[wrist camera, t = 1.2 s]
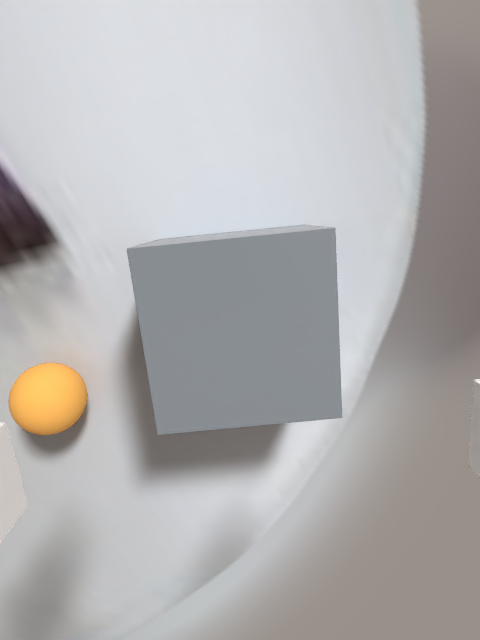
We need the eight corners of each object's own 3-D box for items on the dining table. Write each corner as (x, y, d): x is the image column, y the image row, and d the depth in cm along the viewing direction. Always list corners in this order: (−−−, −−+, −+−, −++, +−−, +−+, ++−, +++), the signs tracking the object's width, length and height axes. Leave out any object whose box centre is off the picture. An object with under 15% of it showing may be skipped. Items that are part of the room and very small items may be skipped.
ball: (24, 356, 30) (-16, 383, 25) (90, 350, 30) (62, 375, 25) (39, 416, 31) (3, 452, 26) (102, 410, 31) (77, 445, 26)
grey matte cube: (159, 239, 28) (126, 248, 19) (304, 224, 28) (335, 228, 19) (179, 374, 30) (157, 435, 22) (312, 361, 30) (342, 417, 22)
